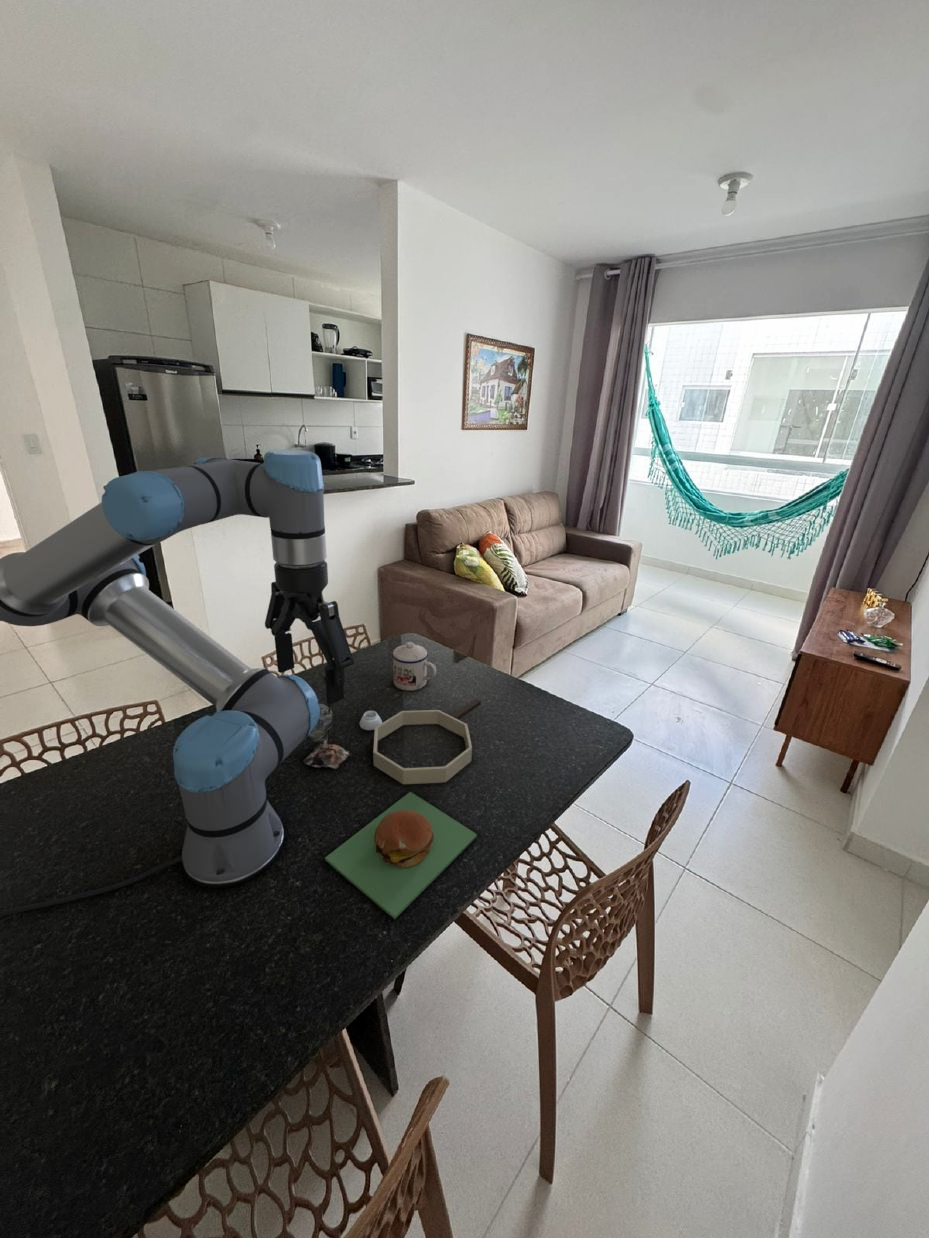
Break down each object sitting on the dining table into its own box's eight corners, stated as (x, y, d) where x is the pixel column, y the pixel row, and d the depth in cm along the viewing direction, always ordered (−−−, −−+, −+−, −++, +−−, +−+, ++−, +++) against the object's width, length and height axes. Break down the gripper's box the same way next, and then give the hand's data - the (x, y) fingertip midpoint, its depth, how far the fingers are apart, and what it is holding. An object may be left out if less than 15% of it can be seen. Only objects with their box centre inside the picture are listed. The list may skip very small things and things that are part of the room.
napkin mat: (394, 919, 74) (394, 916, 74) (324, 860, 83) (324, 857, 83) (477, 836, 89) (477, 834, 89) (410, 793, 98) (410, 791, 98)
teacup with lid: (386, 686, 133) (385, 646, 128) (403, 671, 140) (403, 632, 136) (427, 697, 129) (428, 657, 124) (442, 681, 136) (444, 642, 132)
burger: (421, 817, 92) (421, 797, 90) (441, 857, 84) (441, 836, 82) (367, 834, 88) (366, 814, 86) (382, 878, 80) (382, 856, 78)
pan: (425, 798, 97) (425, 784, 95) (354, 753, 108) (353, 739, 106) (512, 727, 119) (513, 715, 117) (446, 696, 130) (446, 684, 128)
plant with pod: (318, 737, 112) (311, 657, 104) (357, 756, 107) (353, 673, 99) (289, 757, 106) (279, 673, 98) (329, 778, 101) (322, 691, 93)
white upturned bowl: (357, 731, 115) (380, 732, 115) (357, 720, 114) (379, 721, 114) (362, 718, 119) (383, 719, 120) (361, 707, 118) (383, 708, 118)
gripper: (376, 577, 71) (378, 705, 80) (276, 538, 85) (287, 651, 94) (332, 590, 66) (338, 726, 74) (233, 546, 80) (248, 665, 88)
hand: (309, 684), depth 84 cm, fingers open, 13 cm apart
